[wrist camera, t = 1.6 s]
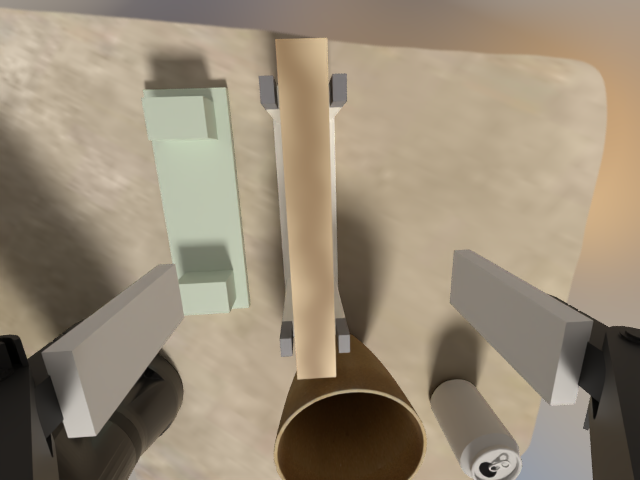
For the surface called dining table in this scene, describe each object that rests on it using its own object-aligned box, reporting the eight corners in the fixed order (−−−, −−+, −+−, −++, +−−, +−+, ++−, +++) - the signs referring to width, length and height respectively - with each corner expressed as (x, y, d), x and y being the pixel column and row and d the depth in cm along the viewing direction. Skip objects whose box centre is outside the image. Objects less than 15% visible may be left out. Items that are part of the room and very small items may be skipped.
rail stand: (285, 288, 42) (276, 357, 28) (273, 106, 36) (252, 74, 22) (337, 286, 43) (354, 353, 28) (333, 104, 37) (352, 71, 22)
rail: (298, 355, 31) (297, 379, 28) (279, 55, 24) (275, 38, 21) (332, 353, 32) (336, 376, 28) (323, 54, 24) (327, 37, 21)
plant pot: (263, 360, 45) (242, 467, 30) (329, 286, 43) (343, 360, 27) (340, 411, 48) (357, 531, 33) (406, 344, 46) (458, 441, 30)
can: (418, 394, 48) (455, 469, 37) (458, 366, 47) (509, 435, 36) (445, 423, 50) (487, 504, 38) (484, 396, 49) (540, 471, 37)
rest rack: (183, 307, 42) (168, 327, 38) (147, 91, 35) (122, 81, 30) (250, 304, 43) (243, 323, 38) (227, 89, 36) (215, 78, 31)
